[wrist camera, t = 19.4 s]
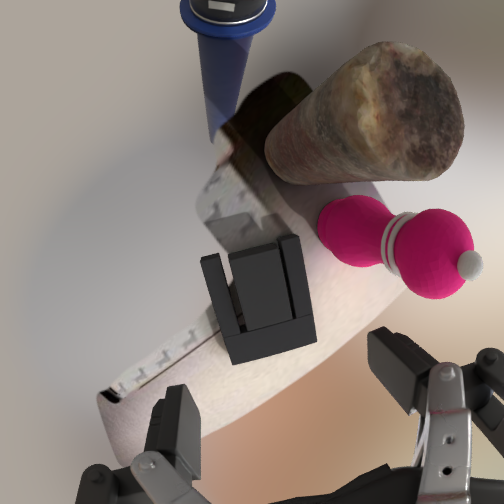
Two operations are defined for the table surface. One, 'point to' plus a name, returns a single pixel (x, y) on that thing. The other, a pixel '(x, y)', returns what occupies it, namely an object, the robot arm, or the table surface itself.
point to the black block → (260, 286)
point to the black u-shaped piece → (273, 336)
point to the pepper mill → (402, 244)
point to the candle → (371, 122)
